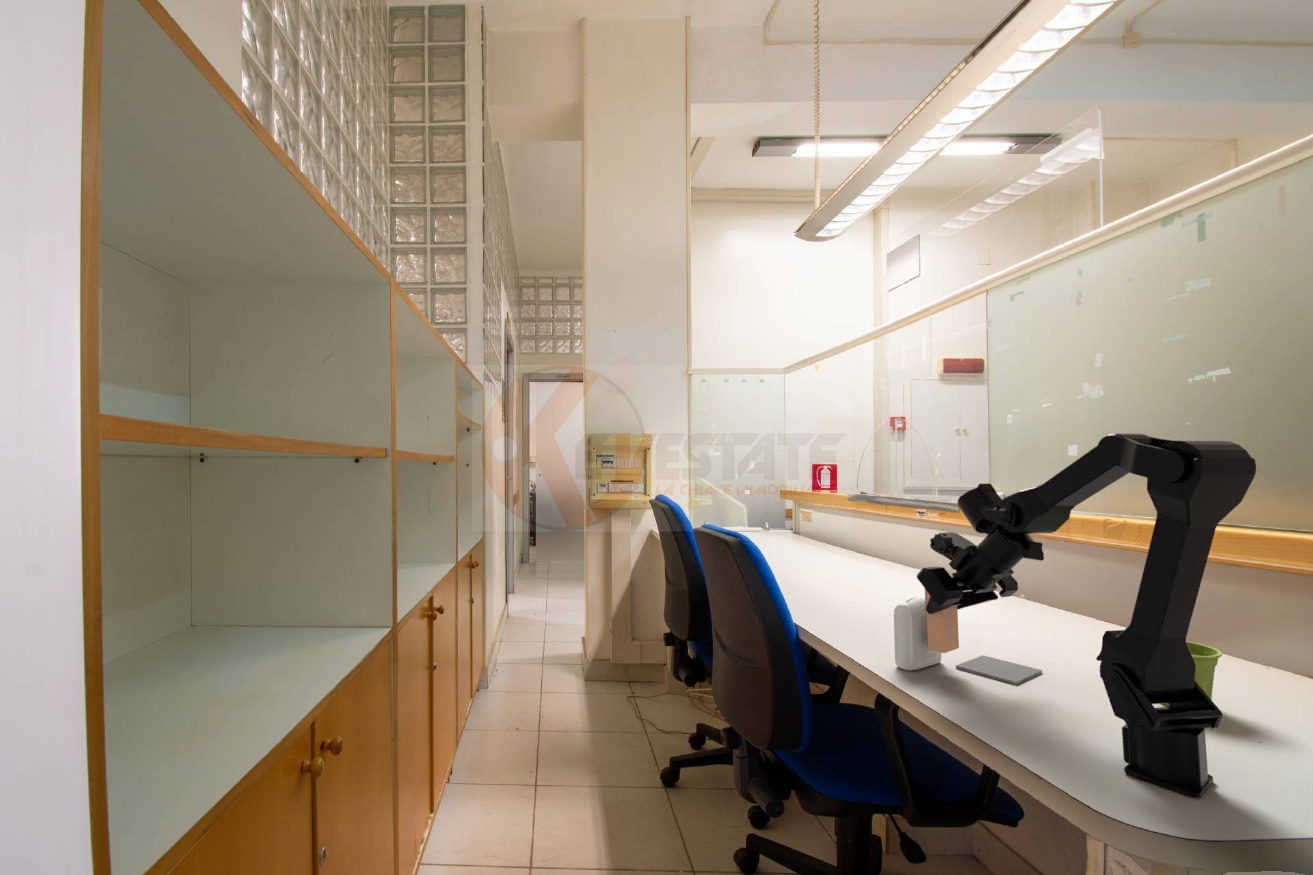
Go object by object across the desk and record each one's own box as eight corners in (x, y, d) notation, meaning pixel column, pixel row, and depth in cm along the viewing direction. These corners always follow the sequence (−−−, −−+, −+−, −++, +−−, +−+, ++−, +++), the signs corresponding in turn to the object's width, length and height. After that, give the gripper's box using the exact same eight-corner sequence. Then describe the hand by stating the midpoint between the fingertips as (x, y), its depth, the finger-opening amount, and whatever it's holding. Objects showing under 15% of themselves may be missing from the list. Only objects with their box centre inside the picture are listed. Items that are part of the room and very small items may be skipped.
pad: (1042, 672, 99) (1041, 669, 99) (1016, 685, 93) (1016, 682, 93) (982, 657, 107) (982, 655, 107) (955, 668, 101) (955, 665, 101)
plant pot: (1197, 721, 79) (1193, 658, 80) (1126, 696, 88) (1122, 640, 89) (1242, 713, 82) (1238, 652, 82) (1168, 689, 91) (1165, 635, 91)
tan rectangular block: (959, 648, 99) (956, 579, 100) (944, 653, 96) (941, 582, 97) (942, 643, 102) (939, 576, 102) (927, 648, 99) (924, 579, 100)
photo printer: (923, 656, 108) (921, 591, 109) (945, 662, 104) (942, 595, 105) (891, 666, 102) (889, 598, 103) (913, 673, 99) (910, 602, 99)
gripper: (997, 516, 100) (945, 569, 109) (924, 519, 92) (874, 576, 102) (1046, 566, 92) (985, 619, 102) (970, 575, 85) (912, 631, 94)
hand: (939, 609), depth 100 cm, fingers closed on tan rectangular block, 5 cm apart
